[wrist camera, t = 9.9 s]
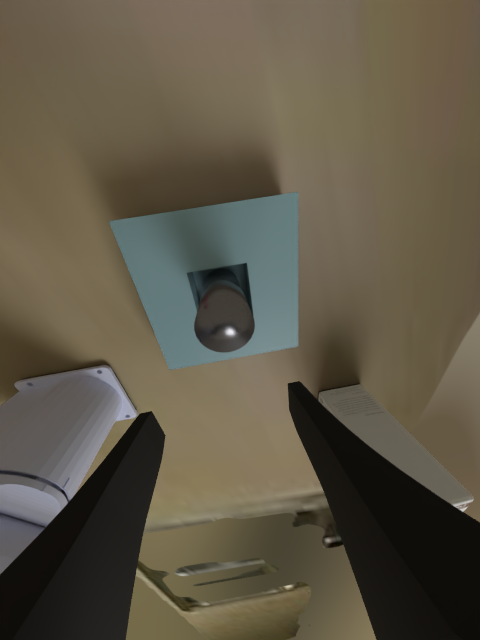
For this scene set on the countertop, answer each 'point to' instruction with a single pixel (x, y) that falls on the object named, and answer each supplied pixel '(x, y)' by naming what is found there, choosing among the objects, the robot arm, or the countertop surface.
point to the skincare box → (392, 441)
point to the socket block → (207, 255)
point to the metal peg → (223, 313)
